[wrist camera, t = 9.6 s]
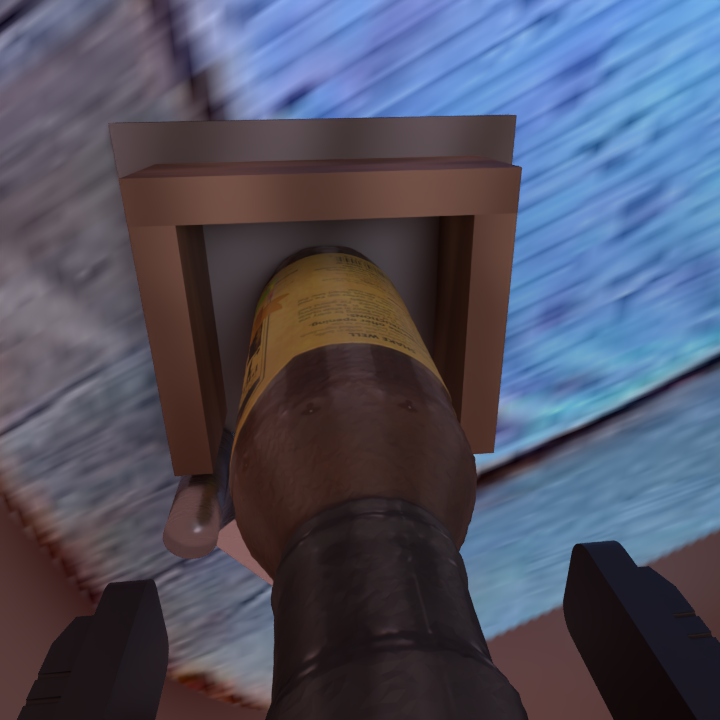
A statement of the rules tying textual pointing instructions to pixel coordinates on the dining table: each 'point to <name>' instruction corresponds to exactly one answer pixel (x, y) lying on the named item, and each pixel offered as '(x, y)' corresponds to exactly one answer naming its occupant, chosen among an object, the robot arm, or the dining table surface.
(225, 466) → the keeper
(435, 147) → the cradle
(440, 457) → the sauce bottle
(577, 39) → the dining table surface
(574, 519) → the dining table surface
